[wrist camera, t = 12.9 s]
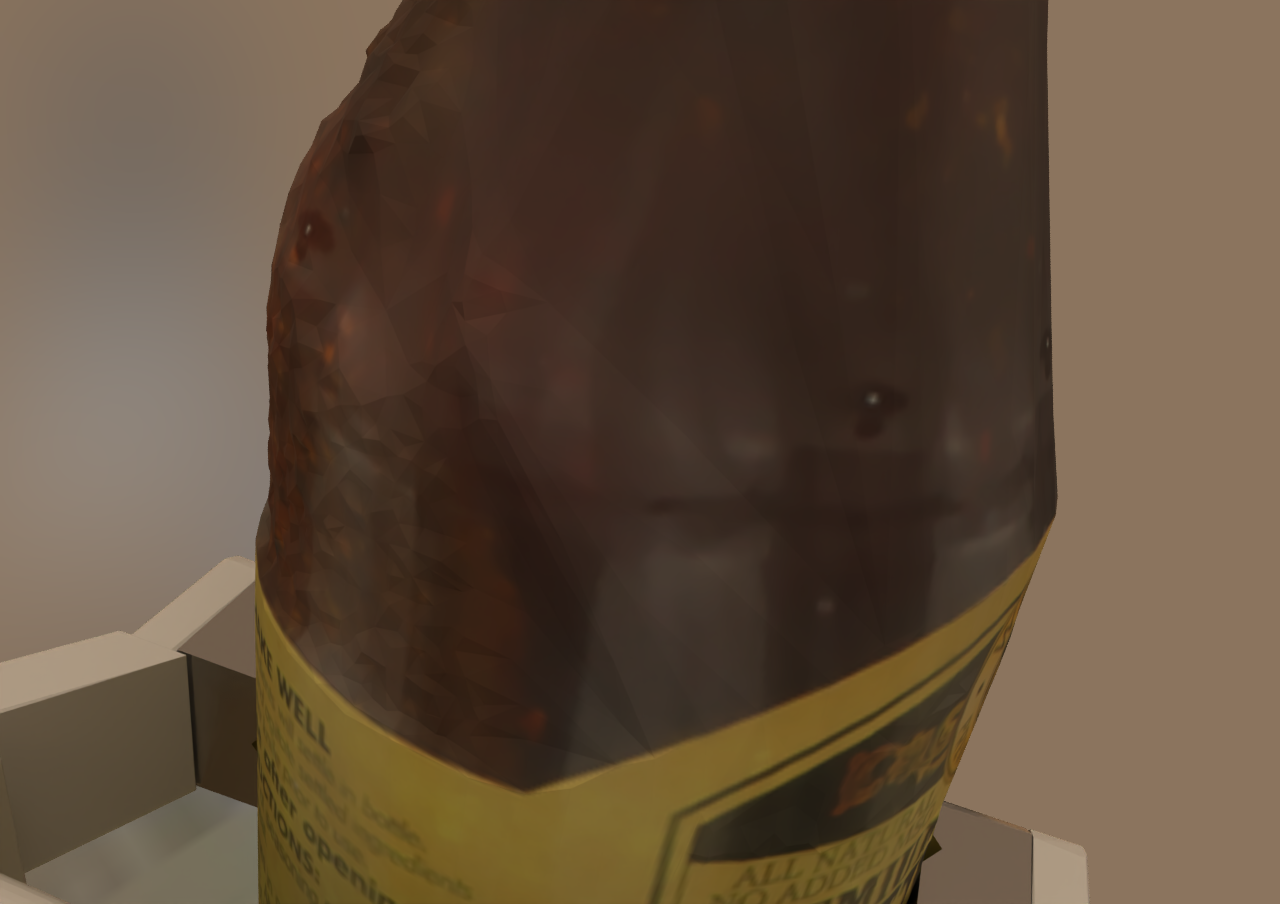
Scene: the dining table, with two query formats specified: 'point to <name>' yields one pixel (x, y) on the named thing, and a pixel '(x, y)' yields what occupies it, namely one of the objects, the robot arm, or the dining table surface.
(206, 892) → the dining table surface
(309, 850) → the sauce bottle
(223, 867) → the dining table surface
